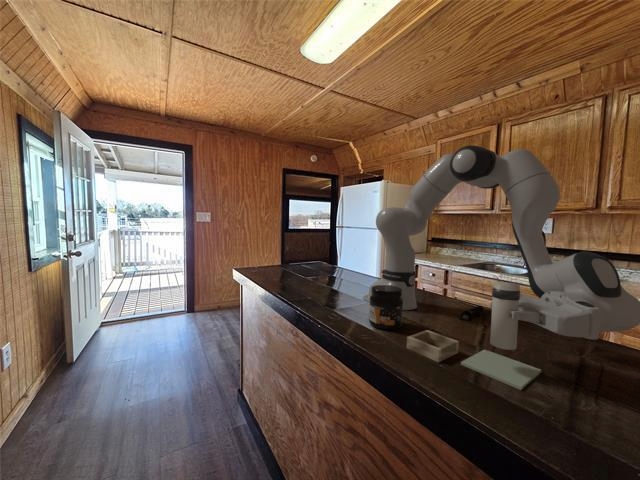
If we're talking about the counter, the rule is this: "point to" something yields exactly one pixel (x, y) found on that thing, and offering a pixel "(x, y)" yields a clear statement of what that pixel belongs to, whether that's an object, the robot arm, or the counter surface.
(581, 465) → the counter surface
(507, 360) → the mat
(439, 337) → the square wooden frame
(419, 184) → the robot arm
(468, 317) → the electric trimmer
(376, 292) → the supplement container
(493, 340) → the white capsule post
